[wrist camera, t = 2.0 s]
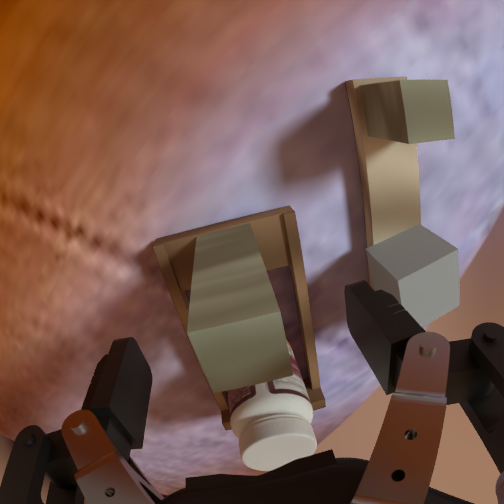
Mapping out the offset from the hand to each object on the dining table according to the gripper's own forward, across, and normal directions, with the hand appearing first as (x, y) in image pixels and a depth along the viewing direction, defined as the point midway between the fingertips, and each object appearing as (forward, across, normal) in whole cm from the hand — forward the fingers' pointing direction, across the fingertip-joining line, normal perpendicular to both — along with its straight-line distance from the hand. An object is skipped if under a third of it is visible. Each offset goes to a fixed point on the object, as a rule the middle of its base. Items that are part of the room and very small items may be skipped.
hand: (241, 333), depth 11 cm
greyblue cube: (+7, -10, +3) cm, 12 cm away
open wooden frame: (+8, 0, +5) cm, 9 cm away
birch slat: (+8, -10, -1) cm, 13 cm away
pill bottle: (+8, 0, +8) cm, 11 cm away
